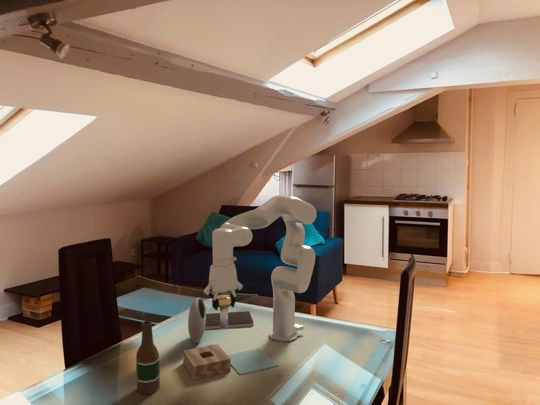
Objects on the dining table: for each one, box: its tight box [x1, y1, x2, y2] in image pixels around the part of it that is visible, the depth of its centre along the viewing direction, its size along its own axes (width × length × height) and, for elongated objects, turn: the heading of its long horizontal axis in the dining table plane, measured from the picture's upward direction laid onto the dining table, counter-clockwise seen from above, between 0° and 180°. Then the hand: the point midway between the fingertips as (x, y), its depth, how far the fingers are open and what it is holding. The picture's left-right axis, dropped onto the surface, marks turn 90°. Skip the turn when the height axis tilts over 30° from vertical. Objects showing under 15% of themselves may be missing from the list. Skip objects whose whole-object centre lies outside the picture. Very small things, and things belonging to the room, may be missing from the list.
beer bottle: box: [135, 320, 161, 396], centre depth 149 cm, size 8×8×24 cm
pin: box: [217, 294, 232, 330], centre depth 166 cm, size 6×6×12 cm
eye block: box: [182, 343, 232, 381], centre depth 166 cm, size 14×14×5 cm
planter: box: [187, 297, 207, 344], centre depth 188 cm, size 18×7×19 cm, turn 0°
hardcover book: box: [205, 310, 255, 330], centre depth 211 cm, size 16×23×2 cm
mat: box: [227, 347, 279, 376], centre depth 171 cm, size 16×16×1 cm
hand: (223, 307), depth 166 cm, fingers closed on pin, 6 cm apart
